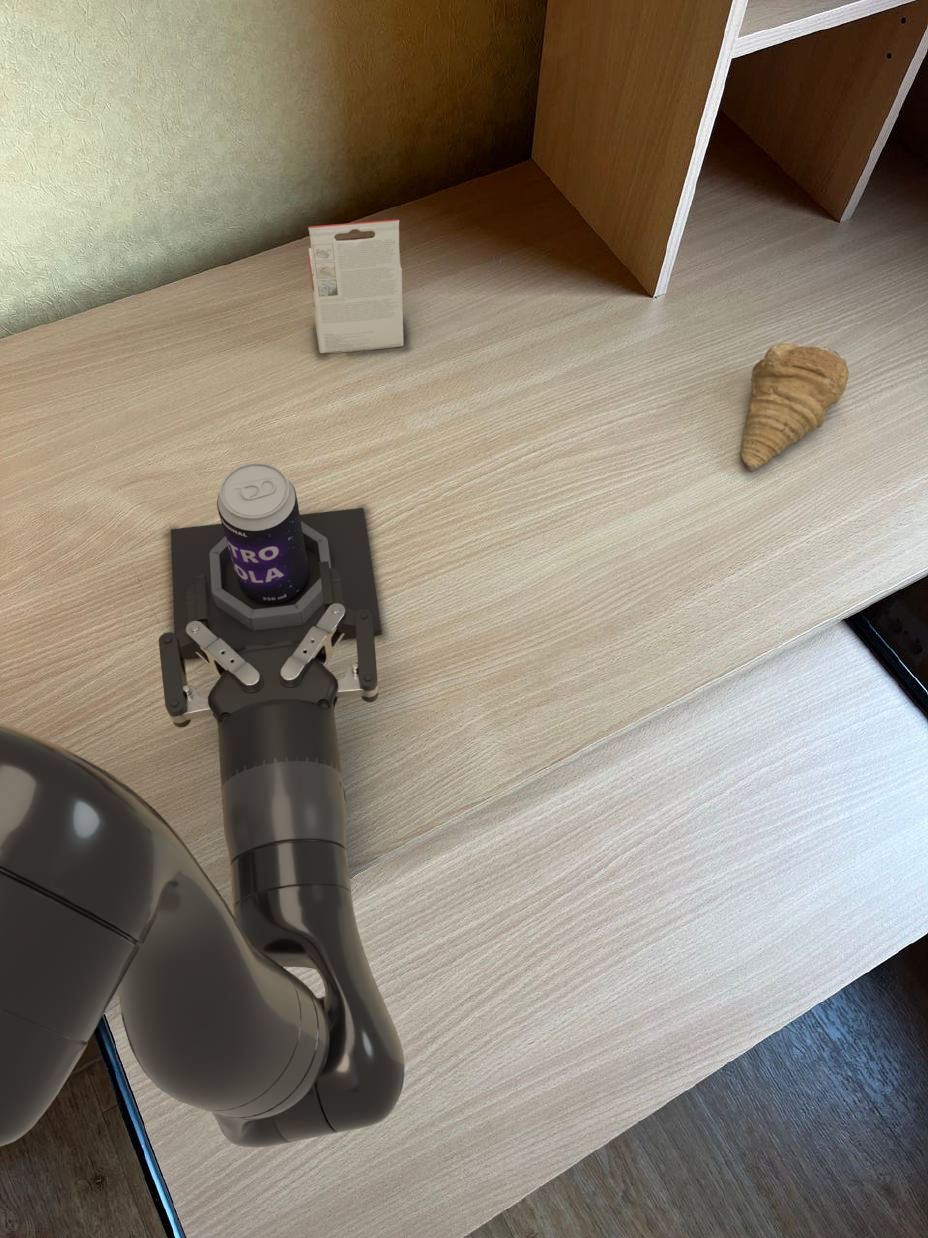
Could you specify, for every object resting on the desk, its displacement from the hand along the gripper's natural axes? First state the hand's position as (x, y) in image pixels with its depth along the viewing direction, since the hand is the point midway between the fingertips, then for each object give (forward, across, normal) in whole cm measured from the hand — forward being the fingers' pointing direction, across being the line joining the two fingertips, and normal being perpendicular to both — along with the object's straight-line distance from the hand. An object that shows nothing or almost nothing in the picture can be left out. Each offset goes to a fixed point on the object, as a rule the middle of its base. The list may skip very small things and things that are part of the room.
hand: (263, 574), depth 74 cm
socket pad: (+6, 0, +10) cm, 12 cm away
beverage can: (+6, 0, +10) cm, 11 cm away
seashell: (+17, -47, +10) cm, 51 cm away
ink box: (+32, -10, +10) cm, 35 cm away
